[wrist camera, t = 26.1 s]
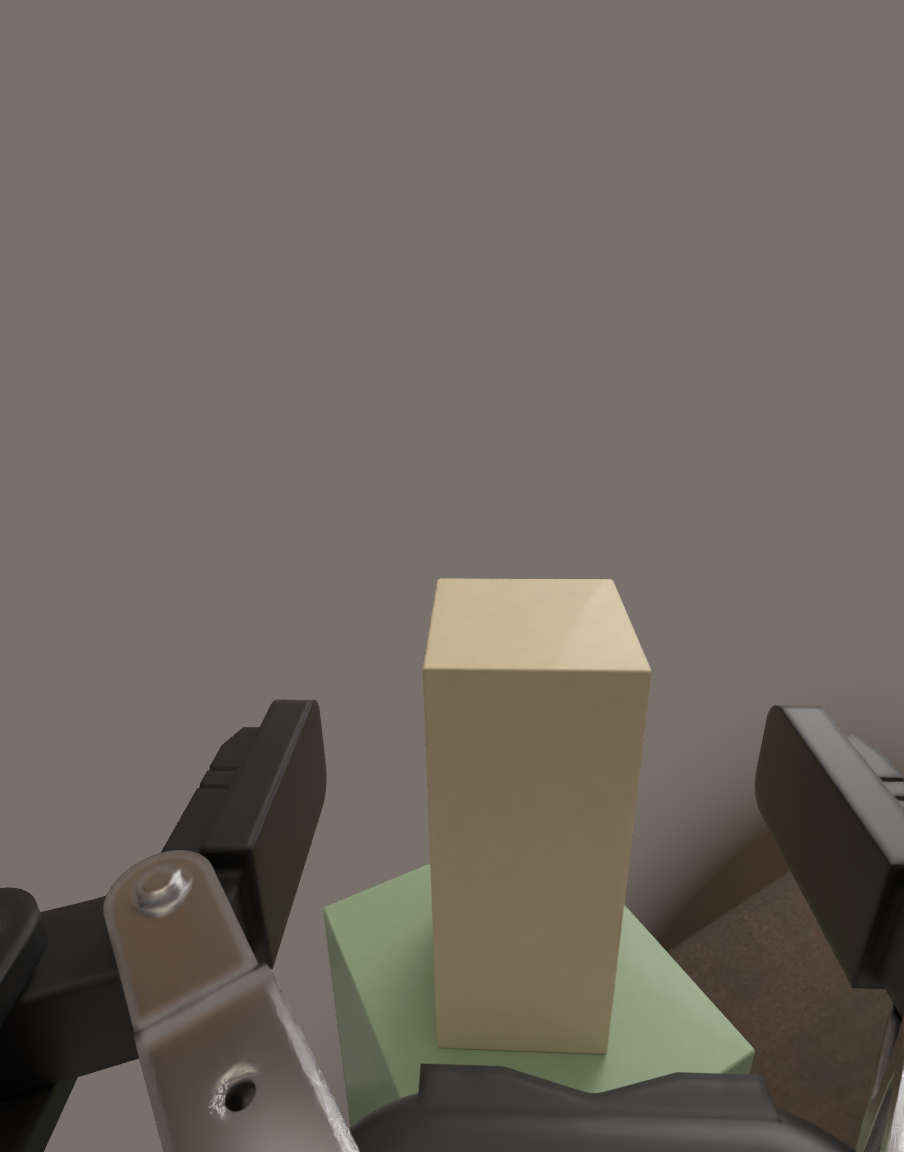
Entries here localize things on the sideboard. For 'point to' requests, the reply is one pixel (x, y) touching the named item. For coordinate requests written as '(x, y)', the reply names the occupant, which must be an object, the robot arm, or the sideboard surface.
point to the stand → (409, 1037)
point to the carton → (530, 807)
